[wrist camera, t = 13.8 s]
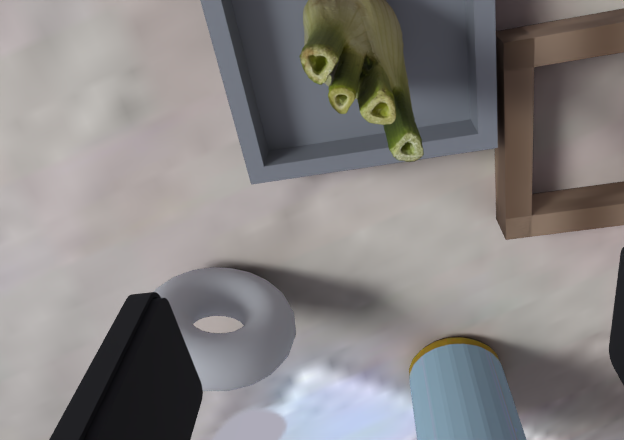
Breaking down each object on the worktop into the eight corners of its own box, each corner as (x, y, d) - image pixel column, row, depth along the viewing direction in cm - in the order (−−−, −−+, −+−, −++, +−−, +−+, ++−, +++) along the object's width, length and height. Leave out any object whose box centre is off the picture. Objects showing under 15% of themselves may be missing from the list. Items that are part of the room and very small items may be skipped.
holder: (711, -8, 28) (741, 1, 26) (677, 195, 34) (699, 215, 32) (492, 31, 30) (503, 43, 28) (496, 218, 36) (506, 239, 34)
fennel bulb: (411, 68, 30) (445, 160, 20) (327, 97, 31) (319, 199, 21) (380, -40, 27) (402, 1, 17) (289, -4, 28) (259, 55, 18)
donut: (304, 266, 38) (292, 374, 30) (298, 304, 40) (285, 415, 32) (162, 247, 38) (110, 350, 30) (163, 286, 40) (114, 393, 32)
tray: (477, -152, 25) (492, -156, 23) (485, 127, 32) (497, 147, 30) (192, -88, 27) (176, -86, 25) (258, 162, 34) (251, 184, 32)
